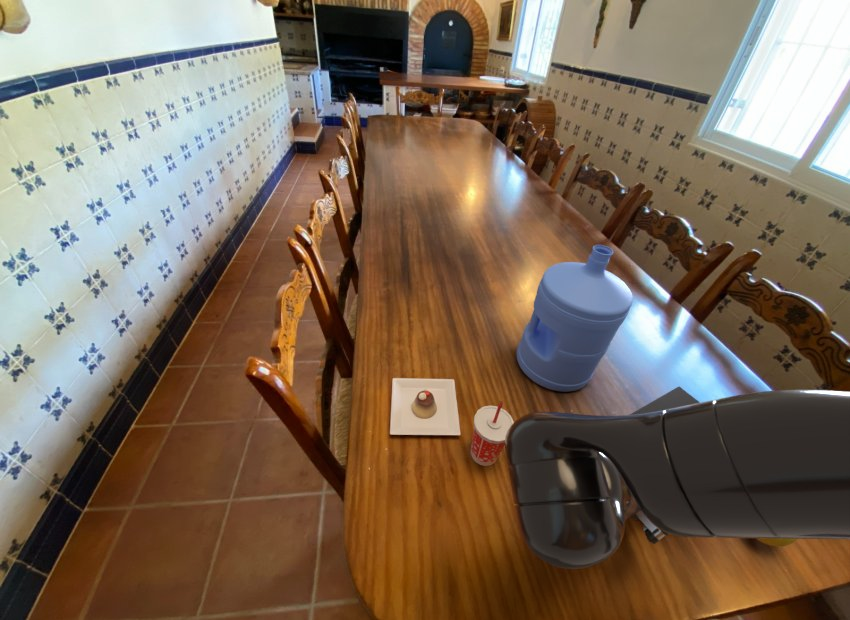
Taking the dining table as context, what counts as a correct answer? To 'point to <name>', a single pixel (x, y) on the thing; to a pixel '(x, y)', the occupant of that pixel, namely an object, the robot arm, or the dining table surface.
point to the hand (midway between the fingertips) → (625, 483)
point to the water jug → (573, 322)
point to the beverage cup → (489, 433)
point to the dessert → (424, 407)
